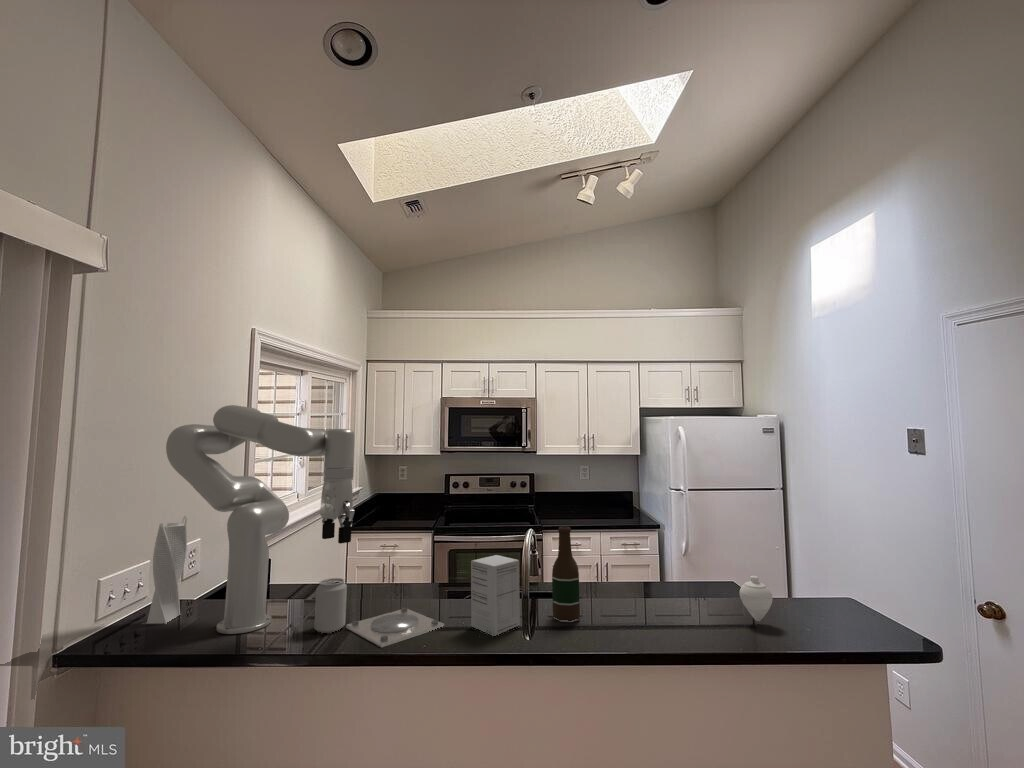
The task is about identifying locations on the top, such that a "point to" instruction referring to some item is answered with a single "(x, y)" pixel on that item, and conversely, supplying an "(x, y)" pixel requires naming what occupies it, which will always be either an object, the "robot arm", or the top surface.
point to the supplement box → (495, 594)
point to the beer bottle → (565, 580)
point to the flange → (393, 627)
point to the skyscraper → (168, 571)
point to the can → (330, 605)
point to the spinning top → (756, 598)
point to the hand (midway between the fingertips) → (336, 540)
